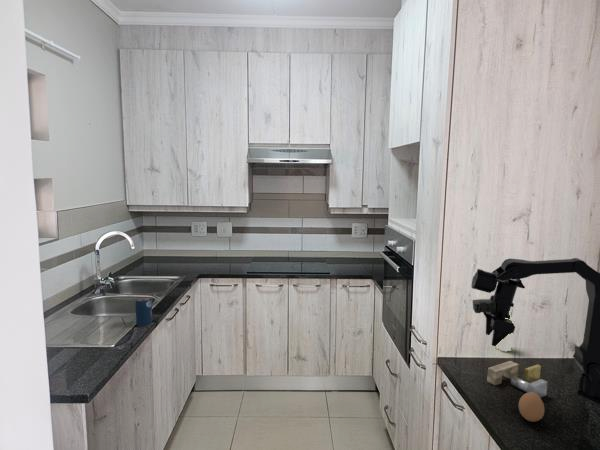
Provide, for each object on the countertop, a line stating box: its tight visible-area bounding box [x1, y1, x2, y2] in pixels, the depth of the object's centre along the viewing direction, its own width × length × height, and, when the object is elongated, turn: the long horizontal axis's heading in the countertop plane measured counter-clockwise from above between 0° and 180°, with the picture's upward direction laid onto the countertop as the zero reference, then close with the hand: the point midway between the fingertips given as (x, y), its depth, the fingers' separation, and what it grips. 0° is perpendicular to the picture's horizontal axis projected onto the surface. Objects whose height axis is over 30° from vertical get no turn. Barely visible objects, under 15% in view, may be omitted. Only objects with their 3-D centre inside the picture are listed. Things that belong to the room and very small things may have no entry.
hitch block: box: [486, 360, 520, 386], centre depth 139 cm, size 3×12×5 cm, turn 118°
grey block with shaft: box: [510, 376, 548, 399], centre depth 132 cm, size 9×7×5 cm
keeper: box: [523, 363, 542, 383], centre depth 138 cm, size 1×7×5 cm, turn 118°
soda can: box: [134, 296, 153, 328], centre depth 183 cm, size 7×7×12 cm
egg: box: [518, 392, 545, 423], centre depth 116 cm, size 6×6×8 cm
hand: (490, 339), depth 136 cm, fingers open, 9 cm apart
